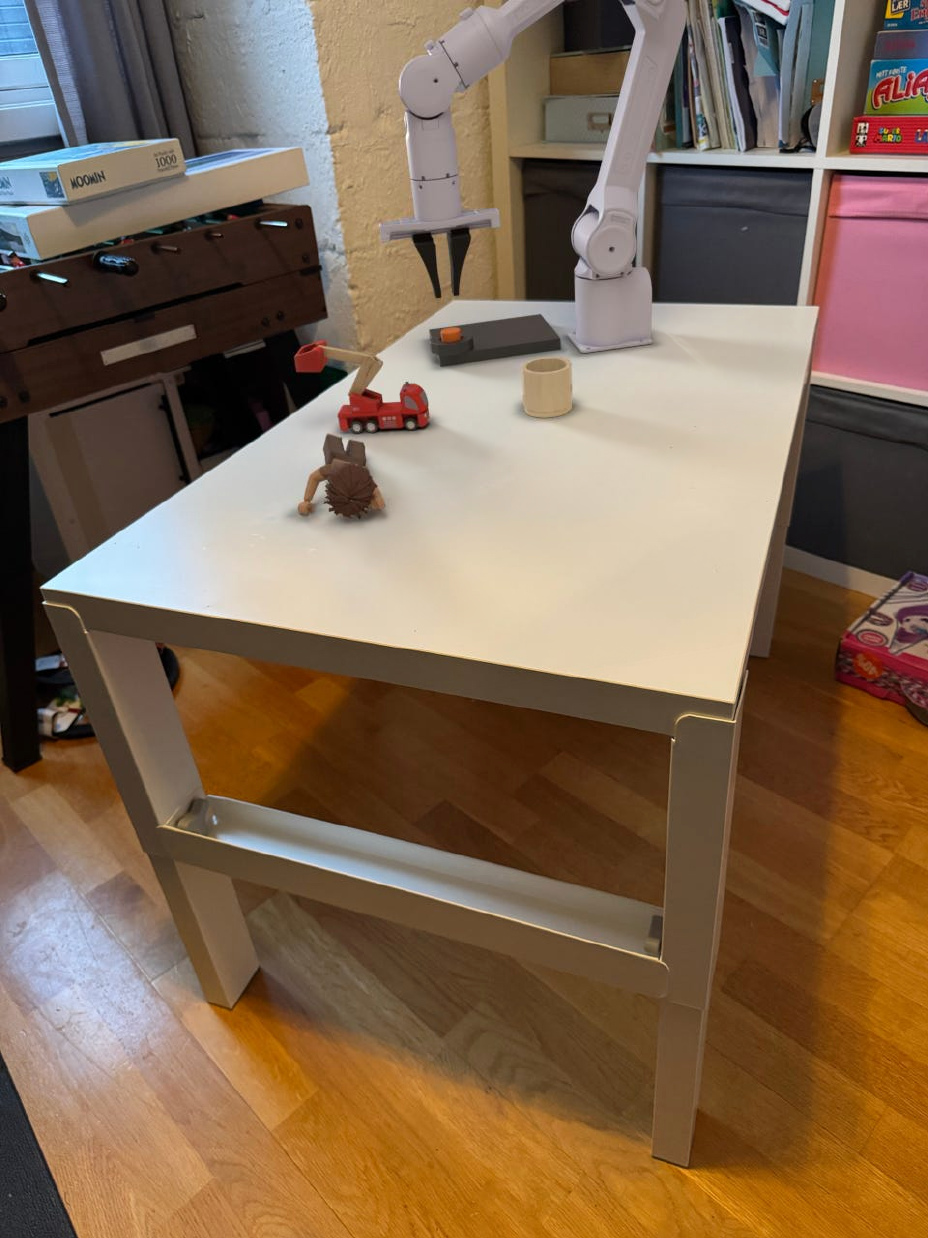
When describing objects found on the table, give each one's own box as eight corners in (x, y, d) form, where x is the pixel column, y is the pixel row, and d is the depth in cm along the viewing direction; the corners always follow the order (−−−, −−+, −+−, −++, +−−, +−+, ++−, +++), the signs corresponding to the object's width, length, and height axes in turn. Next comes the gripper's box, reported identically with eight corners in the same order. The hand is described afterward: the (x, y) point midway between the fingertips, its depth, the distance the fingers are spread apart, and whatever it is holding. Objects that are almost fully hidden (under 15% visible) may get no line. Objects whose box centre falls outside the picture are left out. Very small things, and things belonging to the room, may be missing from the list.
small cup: (565, 396, 102) (564, 353, 99) (577, 413, 97) (576, 369, 94) (519, 403, 101) (517, 360, 98) (529, 420, 97) (527, 376, 94)
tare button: (459, 336, 116) (458, 325, 115) (462, 342, 113) (461, 331, 113) (440, 339, 115) (439, 328, 115) (442, 344, 113) (441, 334, 113)
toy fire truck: (428, 430, 97) (418, 343, 92) (309, 436, 99) (291, 351, 94) (432, 418, 100) (422, 333, 95) (315, 424, 102) (299, 341, 96)
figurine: (302, 487, 93) (304, 545, 80) (283, 441, 90) (282, 493, 77) (375, 462, 93) (389, 516, 80) (358, 415, 90) (370, 463, 77)
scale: (541, 325, 125) (540, 303, 123) (562, 352, 115) (561, 328, 113) (424, 341, 124) (422, 319, 122) (435, 370, 113) (432, 347, 112)
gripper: (489, 164, 107) (497, 279, 115) (371, 179, 106) (387, 294, 114) (499, 171, 101) (507, 293, 109) (374, 187, 101) (391, 309, 108)
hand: (446, 295), depth 111 cm, fingers closed
